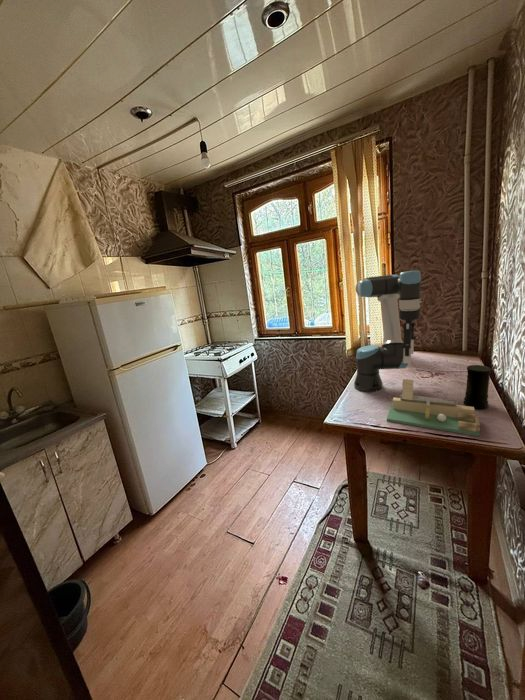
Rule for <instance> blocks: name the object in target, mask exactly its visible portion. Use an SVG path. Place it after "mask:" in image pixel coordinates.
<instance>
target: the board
mask: <svg viewBox="0 0 525 700" xmlns="http://www.w3.org/2000/svg"><path fill="white" fill-rule="evenodd" d="M475 410H476V409H474V407H470V406H465V405H460V404H457V405H456V406H450V405H442V404H434V403H430V415H429V420H426V419H425V413H426V402H417V401H409V400H401V399H400V397H393V398H392V404H391V405H390V408H389V411H388V414H387V417H386V422H390V423H397V424H403V425H409V426H415V427H422V428H427V429H433V430H439V431H440V430H441V431H446V432H451V433H459V434H462V435H463V434H464V435H470V436H476V437H480V431H479V432H474V431H468V430H461V429H458V422H459V421H462V420H457V415H458V412H461V413H468V414H475ZM438 414H444V415H445V416H446V420H445V421H444V422H441V421H439V420H438V419H437V415H438ZM463 422H469V421H463ZM470 423H474V422H470Z"/></svg>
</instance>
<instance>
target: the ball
mask: <svg viewBox="0 0 525 700" xmlns="http://www.w3.org/2000/svg"><path fill="white" fill-rule="evenodd" d="M437 419H438V420H439V421H441V422H444V421H445V420H446V416H445V415H444V414H438V415H437Z"/></svg>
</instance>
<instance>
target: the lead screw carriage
mask: <svg viewBox="0 0 525 700" xmlns="http://www.w3.org/2000/svg"><path fill="white" fill-rule="evenodd" d="M414 383H415V381H414V379H407V378H403V379H402V388H401V389H402V393H400V394H399V398H400V399H401V400H409V401H417V402H426V413H425V419H426V420H429V415H430V403H434V404H442V405H450V406H456V405H458V404H457V403H458V402H457V400H456V399H447V398H439V397H437V398H436V397H429V396H420V395H414Z"/></svg>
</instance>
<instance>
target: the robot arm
mask: <svg viewBox="0 0 525 700" xmlns="http://www.w3.org/2000/svg"><path fill="white" fill-rule="evenodd" d="M421 274H422V273H421V271H420V270H418V269H416V270H409V271H408V270H407V271H403V272H402V271H401V272H400V273H399V275H398V274H387V275H379V276H378V275H377V276H369V277H365V278H363V279H360V280H358V282H357V283H356V285H355V292H356V294H357V295H358V296H359V297H362V298H377V301H378V302H380V308H381V309H380V310H381V318H382V331H383V341H384V342H383V343H382V345H381V348H380V347H379V346H378V345H375V344H374V345H373V344H371V345H370V344H369V345H365V346H362V347H359V348H358V349H357V350H356V356H355V358H356V377H355V379H354V383H353V385H354V388H355V389H356V390H358V391H360V392H365V393H367V392H368V393H370V392H371V393H373V392H377V391H381V390H383V387H384V384H383V383H384V382H383V380H382V378H381V376H380V370H399V369H402V370H403V369H406V368H407V367H408V366H409V364H412V355H414V353H415V352H414V349H415V348H414V346H415V341H414V340H416V339H417V338H416V336H415V325H416V323H415V321H416V320H419V319H420V317H421V310H420V308H421V304H422V302H423V301H422V300H421V282H422V277H421ZM398 299H399V301H398ZM398 303H399V304H398ZM400 320H401V321H405V322H404V323H403V340H402V331H401V324H400V323H401V322H400Z"/></svg>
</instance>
